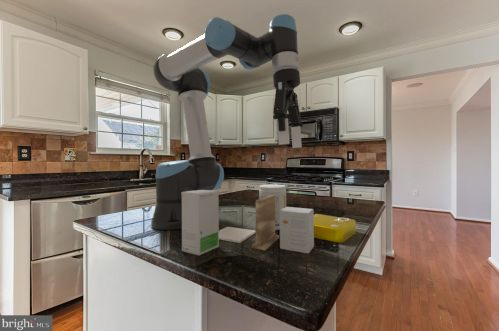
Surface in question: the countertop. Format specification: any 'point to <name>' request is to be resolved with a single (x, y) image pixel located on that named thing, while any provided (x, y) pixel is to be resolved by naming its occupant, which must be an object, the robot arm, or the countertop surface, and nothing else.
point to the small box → (297, 229)
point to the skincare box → (200, 221)
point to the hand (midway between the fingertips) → (291, 146)
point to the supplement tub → (279, 199)
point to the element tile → (333, 228)
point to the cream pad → (235, 234)
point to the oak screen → (265, 223)
